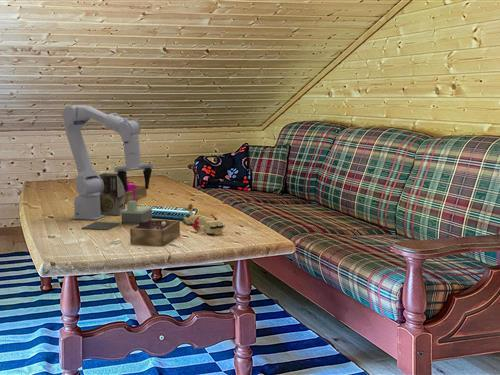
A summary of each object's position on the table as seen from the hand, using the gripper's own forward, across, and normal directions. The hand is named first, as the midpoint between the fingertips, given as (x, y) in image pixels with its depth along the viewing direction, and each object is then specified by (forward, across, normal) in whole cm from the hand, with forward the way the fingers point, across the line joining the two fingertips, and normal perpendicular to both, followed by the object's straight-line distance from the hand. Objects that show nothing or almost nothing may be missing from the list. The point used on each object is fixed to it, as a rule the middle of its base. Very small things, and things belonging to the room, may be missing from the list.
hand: (137, 189), depth 228 cm
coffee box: (+10, -16, +20) cm, 27 cm away
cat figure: (+16, +24, -9) cm, 30 cm away
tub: (+12, -2, +5) cm, 13 cm away
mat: (+12, -14, -5) cm, 18 cm away
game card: (+15, +9, -26) cm, 31 cm away
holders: (+11, -4, +15) cm, 20 cm away
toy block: (+8, -18, +53) cm, 56 cm away
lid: (+8, -2, +4) cm, 10 cm away
